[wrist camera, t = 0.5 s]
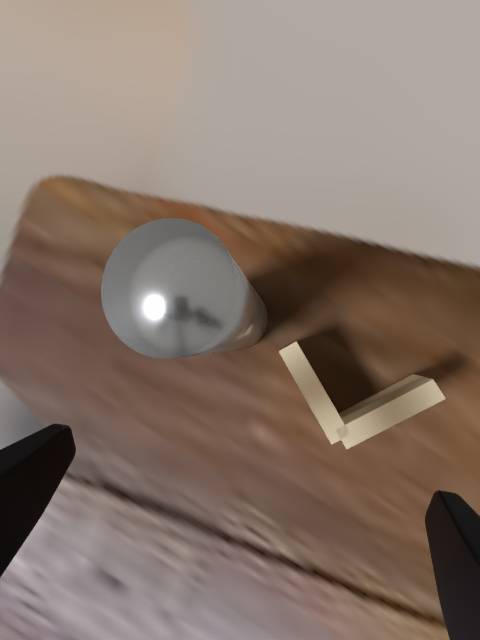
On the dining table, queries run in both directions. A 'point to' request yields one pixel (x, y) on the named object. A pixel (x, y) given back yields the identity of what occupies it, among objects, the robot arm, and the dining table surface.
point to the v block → (365, 414)
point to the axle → (179, 293)
